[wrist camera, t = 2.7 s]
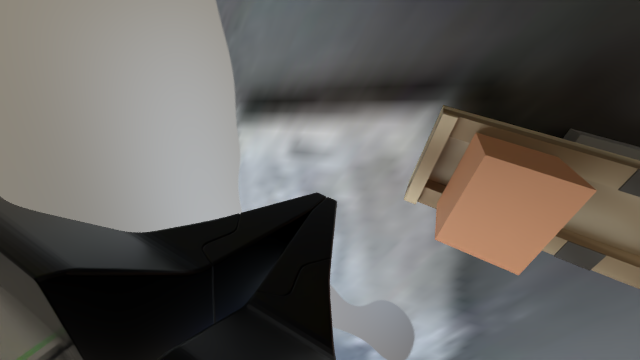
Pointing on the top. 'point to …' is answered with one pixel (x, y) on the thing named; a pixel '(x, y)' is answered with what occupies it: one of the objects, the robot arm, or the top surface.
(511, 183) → the block
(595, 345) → the top surface
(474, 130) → the wooden tray
